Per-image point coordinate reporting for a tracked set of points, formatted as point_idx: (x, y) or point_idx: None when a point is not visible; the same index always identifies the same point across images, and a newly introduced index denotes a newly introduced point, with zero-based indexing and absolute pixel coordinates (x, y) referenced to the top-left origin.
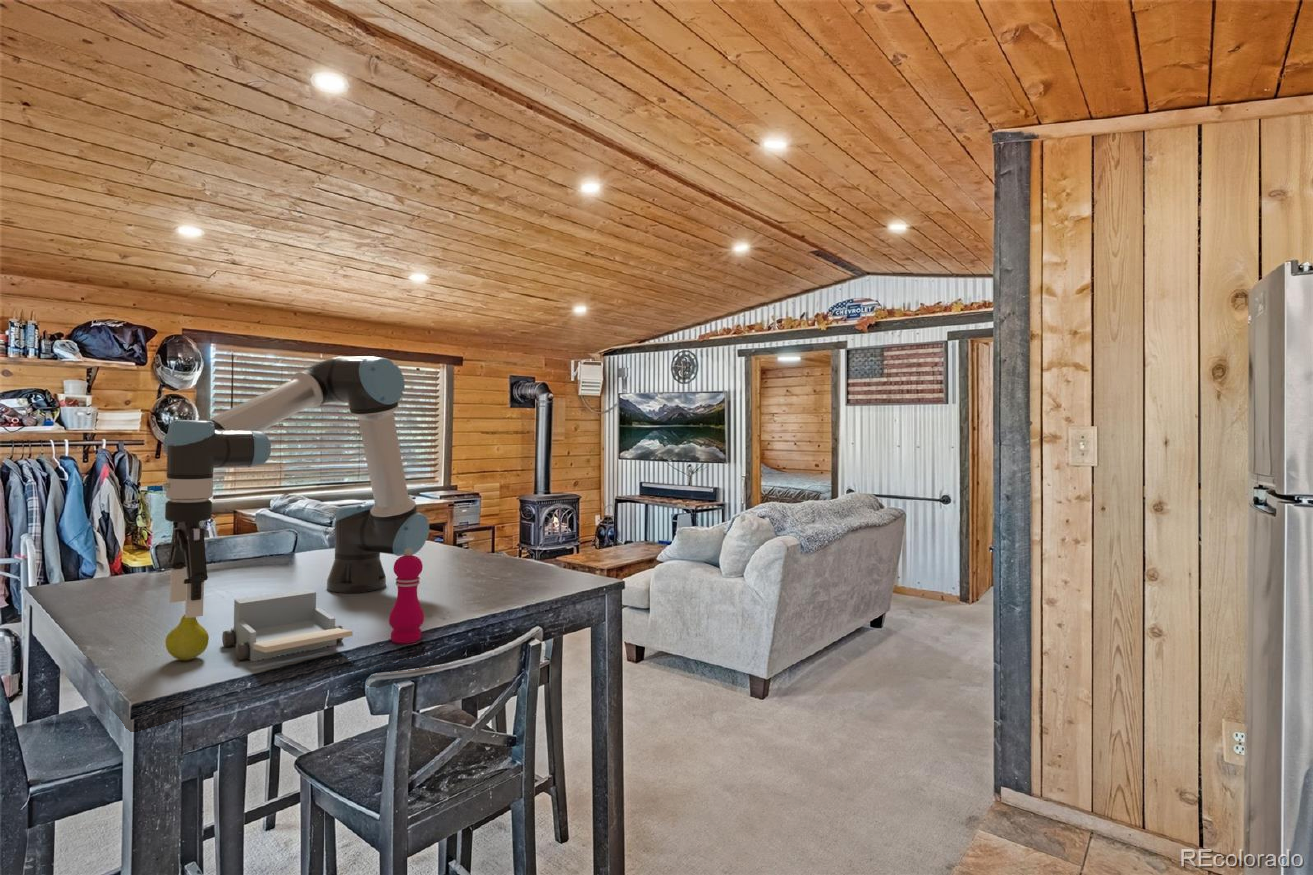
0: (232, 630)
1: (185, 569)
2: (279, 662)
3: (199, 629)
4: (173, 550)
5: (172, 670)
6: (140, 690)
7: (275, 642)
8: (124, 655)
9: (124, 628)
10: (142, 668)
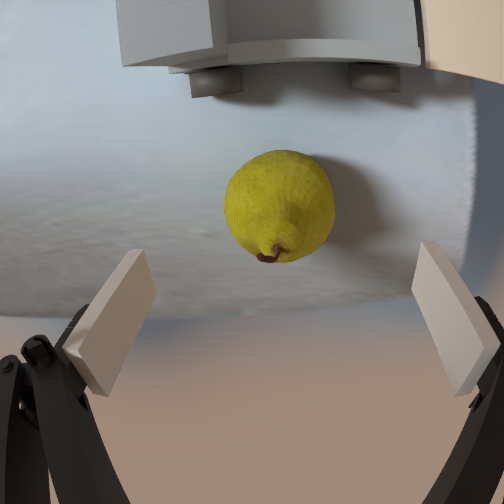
0: (211, 72)
1: (83, 354)
2: None
3: (310, 194)
4: (42, 459)
5: (344, 223)
6: None
7: (492, 40)
8: (177, 282)
9: (22, 261)
10: (289, 267)
